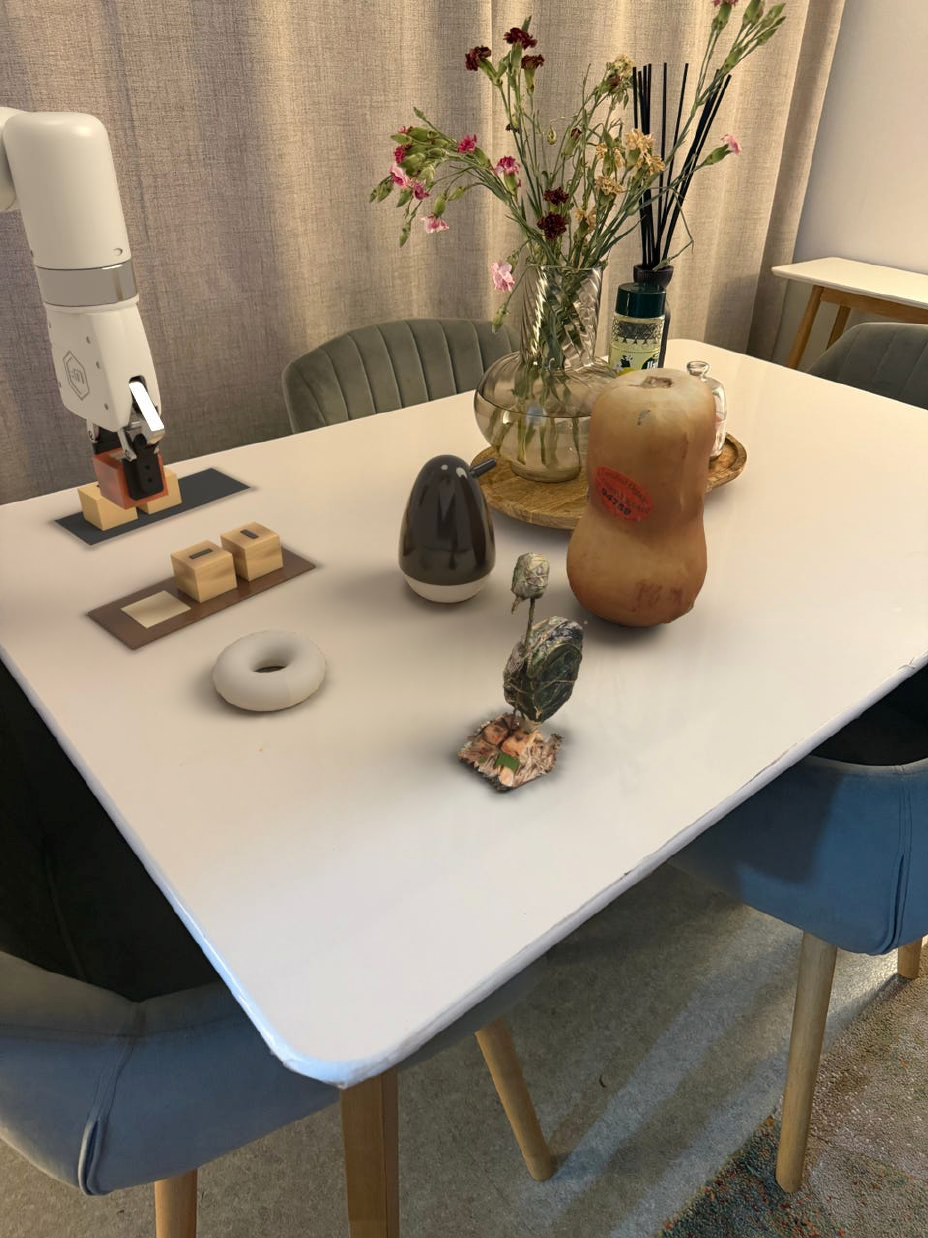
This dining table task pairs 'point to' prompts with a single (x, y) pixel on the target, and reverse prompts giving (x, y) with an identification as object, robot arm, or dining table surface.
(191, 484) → the slate word
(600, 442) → the butternut squash
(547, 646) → the plant with pod
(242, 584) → the walnut word
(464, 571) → the pump dispenser
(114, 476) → the red wooden slotted cube
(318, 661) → the donut
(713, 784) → the dining table surface
